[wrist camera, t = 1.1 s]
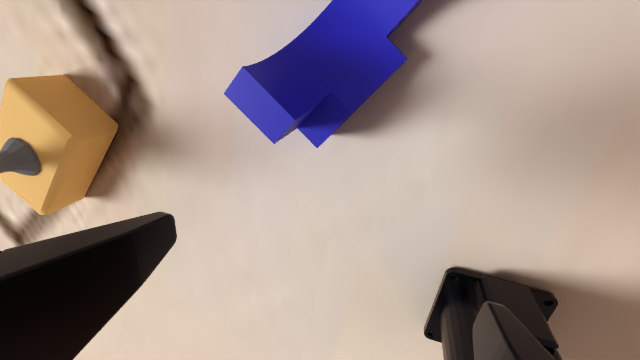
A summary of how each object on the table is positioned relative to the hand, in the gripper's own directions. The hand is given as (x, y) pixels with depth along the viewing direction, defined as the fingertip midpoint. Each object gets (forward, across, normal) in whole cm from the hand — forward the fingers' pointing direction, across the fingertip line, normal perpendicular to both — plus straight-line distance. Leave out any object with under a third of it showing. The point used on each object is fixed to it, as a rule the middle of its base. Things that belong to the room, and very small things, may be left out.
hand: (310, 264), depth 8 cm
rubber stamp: (+11, +24, +4) cm, 27 cm away
